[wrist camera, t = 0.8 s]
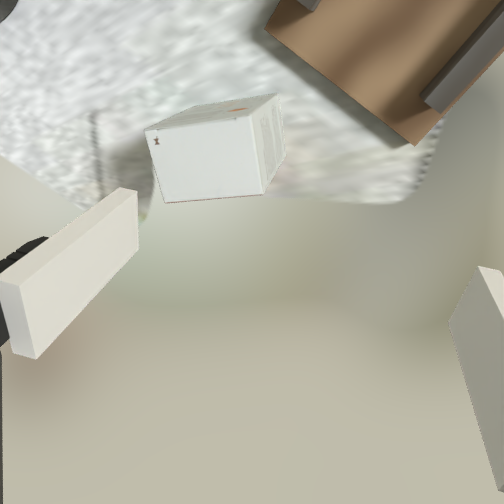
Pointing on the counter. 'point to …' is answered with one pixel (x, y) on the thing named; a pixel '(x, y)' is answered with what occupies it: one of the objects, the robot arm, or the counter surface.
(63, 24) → the counter surface
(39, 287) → the robot arm
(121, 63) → the counter surface
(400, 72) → the mounting plate
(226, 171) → the small box
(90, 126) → the counter surface
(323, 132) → the counter surface
